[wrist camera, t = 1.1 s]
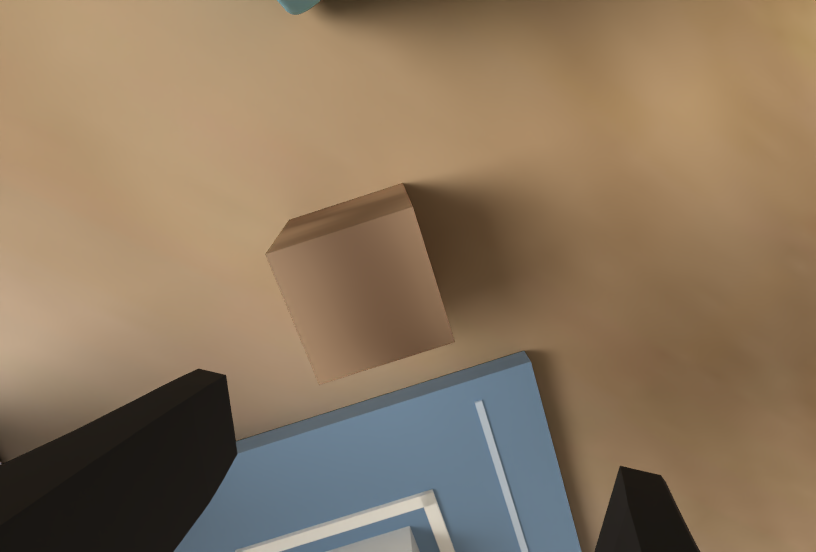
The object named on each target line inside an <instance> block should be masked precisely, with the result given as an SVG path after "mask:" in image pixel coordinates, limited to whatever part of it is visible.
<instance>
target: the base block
mask: <svg viewBox="0 0 816 552" xmlns="http://www.w3.org/2000/svg"><path fill="white" fill-rule="evenodd" d="M326 552H420V551H419V549H418V546H417V543H416V541H415V538H414V536H413V533H412V531H411V528H410V526H407V527H404V528H401V529H398V530H394V531H391V532H388V533H385V534H381V535H378V536H375V537H372V538H368V539H365V540H362V541H359V542H355V543H352V544H349V545H346V546H342V547H339V548H336V549H333V550H329V551H326Z"/></svg>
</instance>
